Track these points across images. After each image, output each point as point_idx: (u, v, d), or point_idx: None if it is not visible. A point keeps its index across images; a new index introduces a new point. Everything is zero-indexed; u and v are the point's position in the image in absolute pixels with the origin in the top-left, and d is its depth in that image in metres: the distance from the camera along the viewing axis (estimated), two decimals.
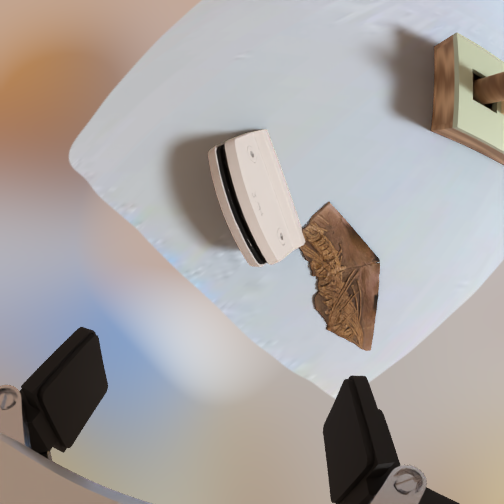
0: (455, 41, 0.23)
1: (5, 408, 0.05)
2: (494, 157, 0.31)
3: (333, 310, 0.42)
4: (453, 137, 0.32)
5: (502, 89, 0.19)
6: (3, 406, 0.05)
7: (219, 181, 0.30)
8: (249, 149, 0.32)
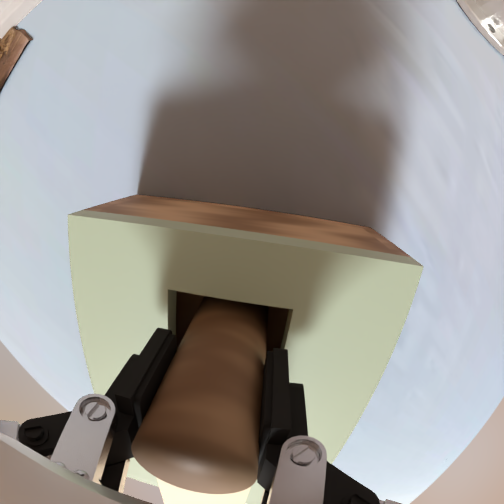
0: (389, 258, 0.11)
1: (91, 418, 0.06)
2: None
3: None
4: None
5: (150, 417, 0.06)
6: (90, 414, 0.06)
7: None
8: None
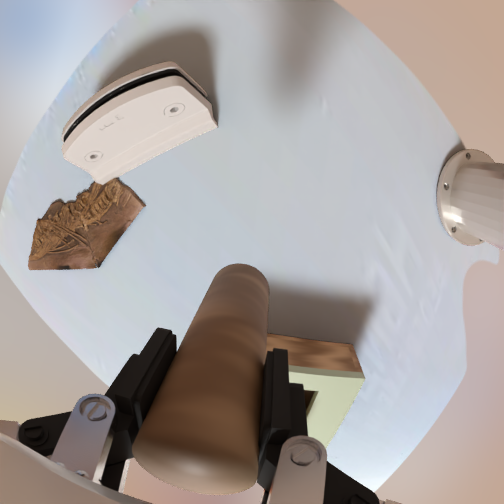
0: (353, 375, 0.30)
1: (91, 418, 0.06)
2: None
3: (51, 222, 0.34)
4: None
5: (151, 419, 0.06)
6: (90, 415, 0.06)
7: (131, 77, 0.21)
8: (178, 106, 0.25)
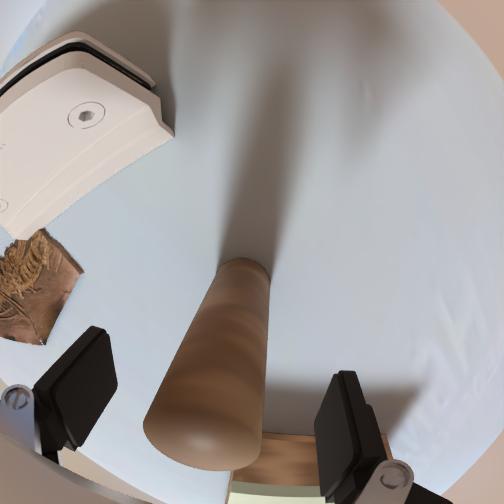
0: None
1: (17, 408, 0.05)
2: (227, 492, 0.26)
3: None
4: None
5: (162, 393, 0.07)
6: (15, 406, 0.05)
7: (11, 73, 0.08)
8: (92, 107, 0.12)
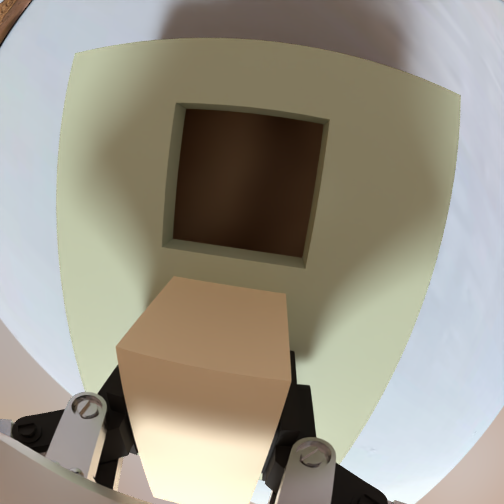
0: (424, 84, 0.08)
1: (83, 416, 0.06)
2: None
3: None
4: None
5: None
6: (83, 413, 0.06)
7: None
8: None
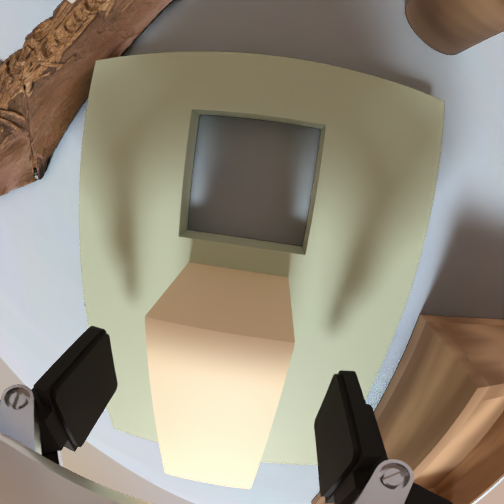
0: (411, 91, 0.09)
1: (17, 408, 0.05)
2: None
3: None
4: (407, 383, 0.12)
5: None
6: (15, 406, 0.05)
7: None
8: None
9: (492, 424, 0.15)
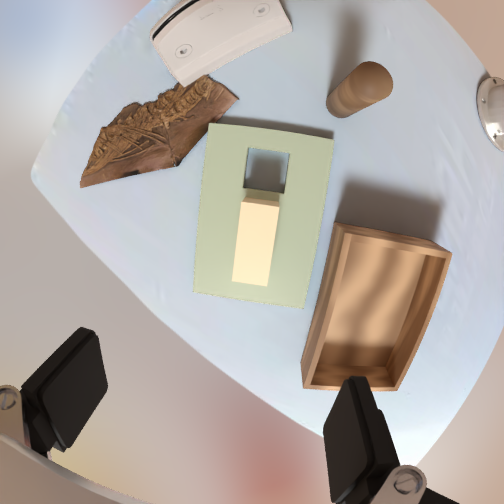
0: (321, 138, 0.32)
1: (5, 408, 0.05)
2: (315, 316, 0.38)
3: (122, 126, 0.33)
4: (331, 250, 0.35)
5: (357, 66, 0.20)
6: (3, 406, 0.05)
7: None
8: (265, 6, 0.24)
9: (408, 307, 0.38)
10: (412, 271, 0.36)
